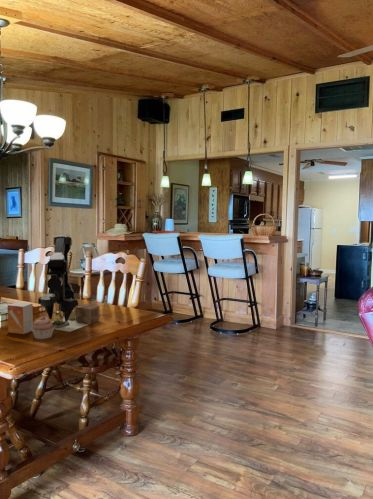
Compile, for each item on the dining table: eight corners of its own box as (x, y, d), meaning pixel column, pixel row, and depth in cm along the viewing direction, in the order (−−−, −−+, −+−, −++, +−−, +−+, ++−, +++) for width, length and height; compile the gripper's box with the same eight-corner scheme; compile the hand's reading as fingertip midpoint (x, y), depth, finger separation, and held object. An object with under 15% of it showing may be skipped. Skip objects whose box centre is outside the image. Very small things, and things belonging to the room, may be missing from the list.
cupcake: (32, 344, 163) (31, 319, 162) (30, 337, 172) (30, 313, 171) (56, 341, 167) (56, 317, 166) (54, 334, 175) (53, 311, 174)
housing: (75, 321, 190) (75, 307, 190) (85, 318, 197) (85, 304, 196) (89, 323, 187) (89, 309, 186) (99, 320, 193) (99, 305, 192)
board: (38, 328, 184) (38, 317, 183) (69, 318, 202) (69, 307, 201) (69, 334, 176) (69, 322, 175) (99, 323, 194) (98, 312, 193)
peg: (51, 325, 184) (51, 312, 184) (58, 323, 188) (57, 310, 187) (58, 326, 182) (58, 313, 182) (65, 324, 186) (64, 311, 185)
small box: (7, 335, 174) (6, 305, 173) (18, 330, 180) (17, 301, 179) (23, 337, 172) (22, 306, 171) (33, 332, 178) (32, 303, 177)
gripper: (28, 287, 180) (29, 322, 182) (60, 291, 172) (61, 327, 174) (47, 283, 190) (47, 316, 192) (78, 286, 182) (79, 321, 184)
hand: (58, 320), depth 185 cm, fingers open, 9 cm apart
